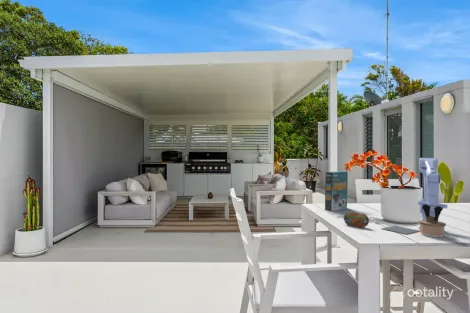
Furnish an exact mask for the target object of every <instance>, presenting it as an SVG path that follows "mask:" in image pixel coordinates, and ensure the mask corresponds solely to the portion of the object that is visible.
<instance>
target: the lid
mask: <svg viewBox="0 0 470 313" xmlns="http://www.w3.org/2000/svg"><path fill="white" fill-rule="evenodd" d="M418 224H419V225H420V224H424V225H430V226H444V227H445V226H446V225H447V223H445V222H443V221H439V219H438V220H435V217H433V216H427V219H426V220H422V219H420V220H418Z"/></svg>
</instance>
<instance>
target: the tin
mask: <svg viewBox="0 0 470 313" xmlns="http://www.w3.org/2000/svg"><path fill="white" fill-rule="evenodd" d="M343 221H344V223H345V224H346V225H347V226H350V227H356V228H361V229H362V228H365V227H367V226H368V225H369V223H370V219H369V216H368V215H367V214H364V213H361V212H352V211H350V212H349V211H348V212H346V213H345V214H344V216H343Z"/></svg>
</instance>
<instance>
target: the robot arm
mask: <svg viewBox="0 0 470 313" xmlns="http://www.w3.org/2000/svg"><path fill="white" fill-rule="evenodd" d="M438 166H439V159H438V157H420V158H419V159H418V167H419V168H418V169H419V172H420V173H421V174H422V175H423V188H424V191H423V192H424V197H423V198H421V199H420V200H419V201H418V203H417V204H418V205H417V206H418V209H419V213H420V214H421V220H426V219H427V216H433V217H435V220H438V221H439V218H440V215H441V214H442V211H443V209H448V204H446V203H440V201H439V200H440V199H439V195H440V192H439V191H440V184H441V173H438ZM418 229H420V226H419V227H418Z"/></svg>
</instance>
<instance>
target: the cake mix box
mask: <svg viewBox="0 0 470 313" xmlns="http://www.w3.org/2000/svg"><path fill="white" fill-rule="evenodd" d="M348 172H349V171H342V170H341V171H339V170H337V171H325V181H324V182H325V186H324V187H325V189H324V192H325V193H324V210H325V211H331V212H333V211H338V210H345V209H348V179H349V177H348V174H349V173H348Z"/></svg>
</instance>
